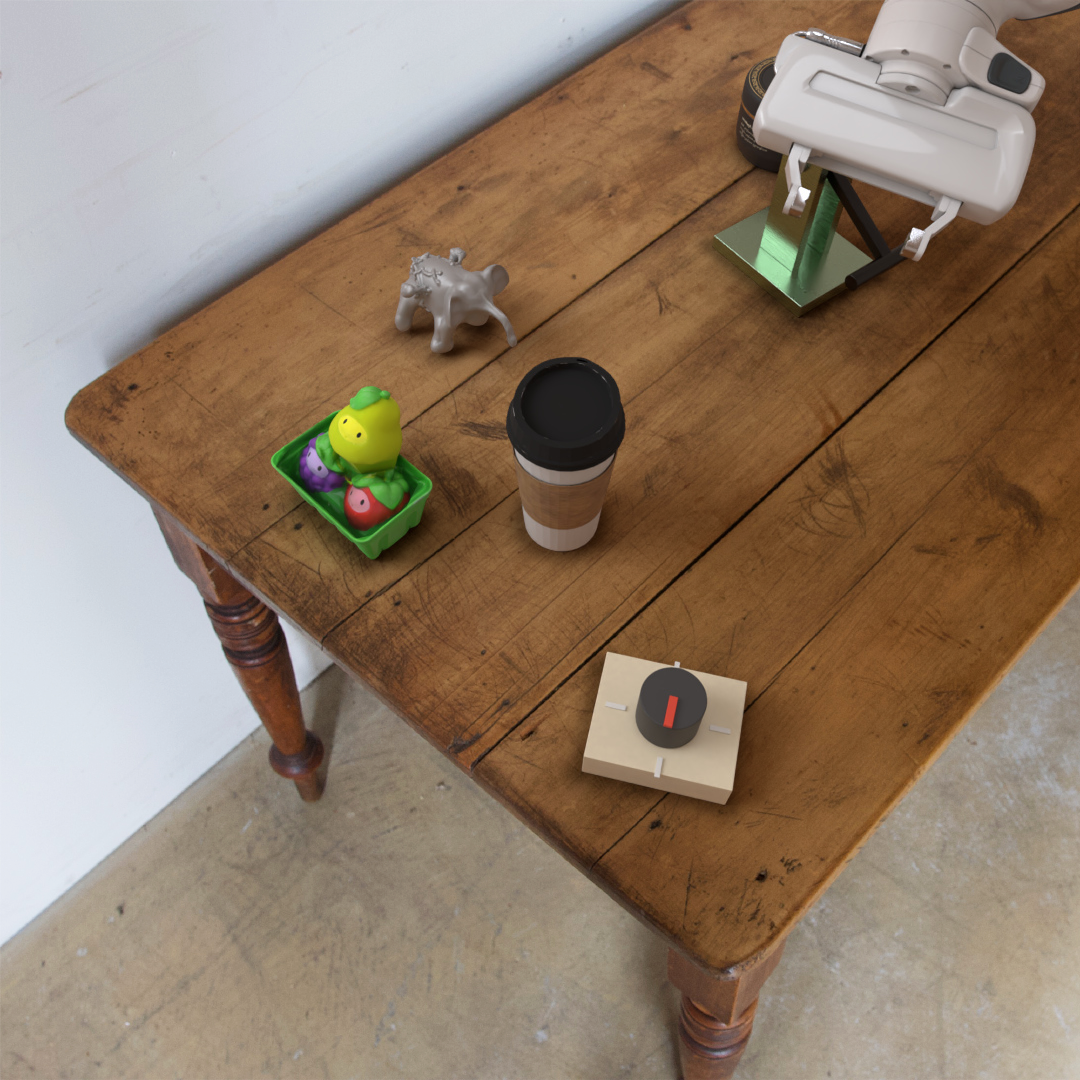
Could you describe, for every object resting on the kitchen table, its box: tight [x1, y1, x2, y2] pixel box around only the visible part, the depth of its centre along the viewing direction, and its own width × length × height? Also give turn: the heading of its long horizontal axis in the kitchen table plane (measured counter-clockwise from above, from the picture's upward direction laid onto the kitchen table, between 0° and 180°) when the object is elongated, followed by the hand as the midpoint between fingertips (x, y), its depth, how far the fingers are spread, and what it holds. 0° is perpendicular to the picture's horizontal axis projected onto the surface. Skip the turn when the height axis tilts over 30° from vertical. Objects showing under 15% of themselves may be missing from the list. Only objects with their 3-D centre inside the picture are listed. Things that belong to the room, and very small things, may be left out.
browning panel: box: [581, 651, 748, 805], centre depth 69 cm, size 10×9×3 cm
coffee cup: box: [505, 356, 627, 552], centre depth 74 cm, size 8×8×15 cm
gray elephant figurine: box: [394, 246, 518, 354], centre depth 88 cm, size 9×12×8 cm
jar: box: [735, 55, 783, 174], centre depth 103 cm, size 10×10×8 cm
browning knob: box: [635, 667, 707, 748], centre depth 66 cm, size 4×4×4 cm
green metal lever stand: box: [711, 154, 874, 318], centre depth 91 cm, size 12×10×14 cm
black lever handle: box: [826, 170, 930, 292], centre depth 87 cm, size 13×9×2 cm
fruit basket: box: [270, 385, 433, 561], centre depth 76 cm, size 11×9×11 cm
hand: (850, 234), depth 75 cm, fingers open, 8 cm apart
